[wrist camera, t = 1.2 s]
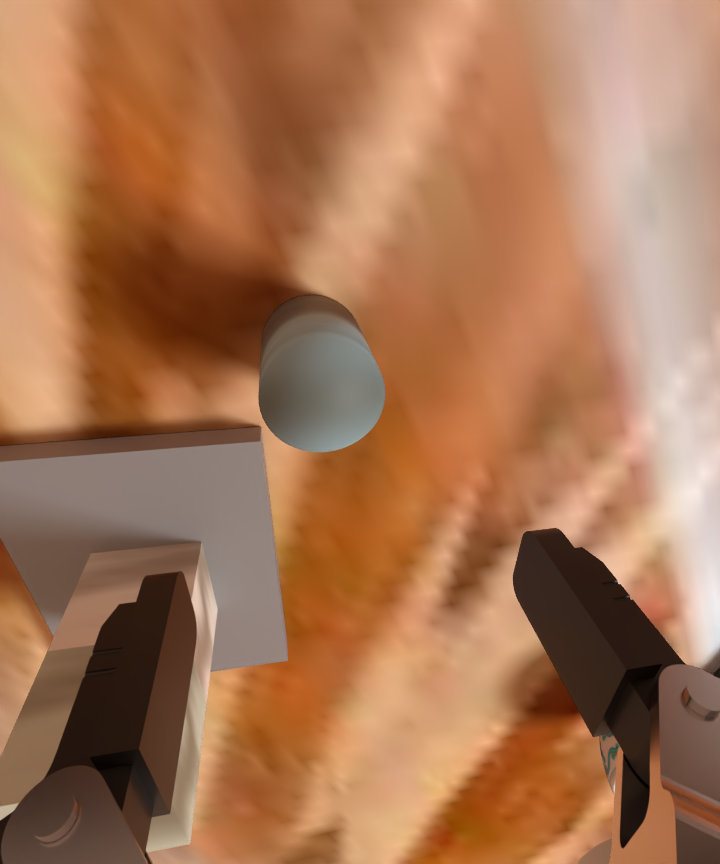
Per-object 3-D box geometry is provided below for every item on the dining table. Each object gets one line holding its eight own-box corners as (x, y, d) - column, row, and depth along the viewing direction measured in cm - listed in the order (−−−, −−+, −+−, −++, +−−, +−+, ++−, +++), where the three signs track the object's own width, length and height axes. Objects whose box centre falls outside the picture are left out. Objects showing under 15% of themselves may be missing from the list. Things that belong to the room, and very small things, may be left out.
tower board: (-23, 447, 23) (-40, 464, 22) (260, 426, 25) (260, 441, 24) (89, 669, 33) (82, 690, 32) (287, 642, 35) (287, 660, 34)
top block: (47, 651, 21) (-24, 810, 16) (185, 633, 22) (159, 778, 17) (87, 721, 24) (38, 873, 19) (206, 703, 25) (190, 843, 20)
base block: (90, 553, 26) (47, 651, 21) (201, 541, 27) (185, 633, 22) (118, 621, 29) (87, 721, 24) (217, 609, 30) (206, 703, 25)
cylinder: (256, 296, 22) (251, 342, 17) (361, 293, 23) (387, 335, 17) (266, 392, 24) (265, 456, 19) (360, 386, 25) (383, 447, 20)
